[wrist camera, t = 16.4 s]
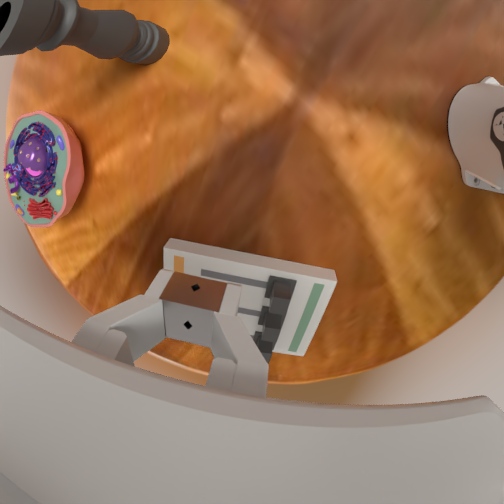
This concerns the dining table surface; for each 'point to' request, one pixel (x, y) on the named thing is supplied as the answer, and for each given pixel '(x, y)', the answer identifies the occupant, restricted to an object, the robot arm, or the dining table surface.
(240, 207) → the dining table surface
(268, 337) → the breaker
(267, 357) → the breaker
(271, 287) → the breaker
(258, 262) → the panel
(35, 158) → the cell model
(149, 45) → the candle holder
